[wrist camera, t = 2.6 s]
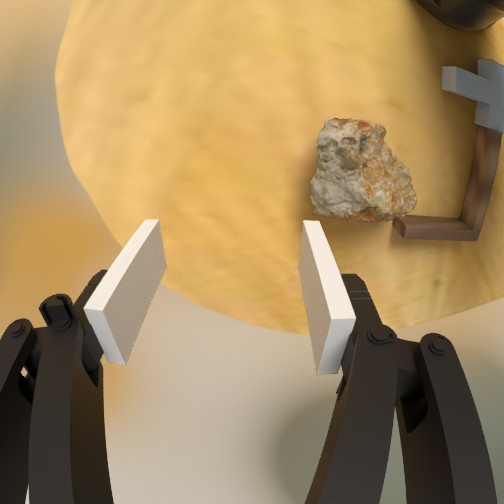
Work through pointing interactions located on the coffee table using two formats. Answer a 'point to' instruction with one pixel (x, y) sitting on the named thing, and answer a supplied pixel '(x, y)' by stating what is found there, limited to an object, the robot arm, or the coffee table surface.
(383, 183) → the rock
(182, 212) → the coffee table surface
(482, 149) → the brown l-shaped block
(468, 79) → the t block
